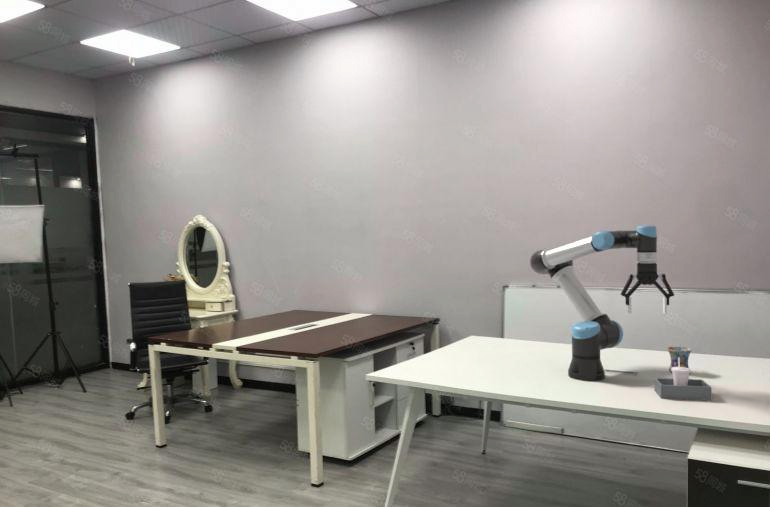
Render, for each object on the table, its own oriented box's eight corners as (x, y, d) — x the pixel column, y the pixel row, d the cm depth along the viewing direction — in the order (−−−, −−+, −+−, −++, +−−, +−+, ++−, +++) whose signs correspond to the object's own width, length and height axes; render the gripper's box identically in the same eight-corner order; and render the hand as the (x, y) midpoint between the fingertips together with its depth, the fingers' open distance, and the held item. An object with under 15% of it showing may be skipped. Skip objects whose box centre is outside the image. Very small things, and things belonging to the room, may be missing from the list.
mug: (689, 376, 239) (689, 352, 239) (665, 373, 245) (665, 349, 244) (694, 370, 248) (694, 346, 248) (671, 367, 254) (671, 344, 254)
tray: (660, 398, 210) (660, 385, 210) (654, 390, 220) (654, 378, 220) (711, 400, 206) (711, 386, 206) (702, 392, 216) (702, 379, 216)
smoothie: (670, 390, 217) (670, 355, 217) (688, 391, 215) (688, 356, 215) (672, 395, 211) (672, 358, 211) (691, 396, 209) (691, 359, 209)
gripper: (616, 263, 231) (617, 314, 232) (682, 262, 225) (682, 314, 226) (613, 262, 238) (613, 311, 239) (677, 261, 233) (677, 311, 234)
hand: (647, 313), depth 233 cm, fingers open, 13 cm apart
